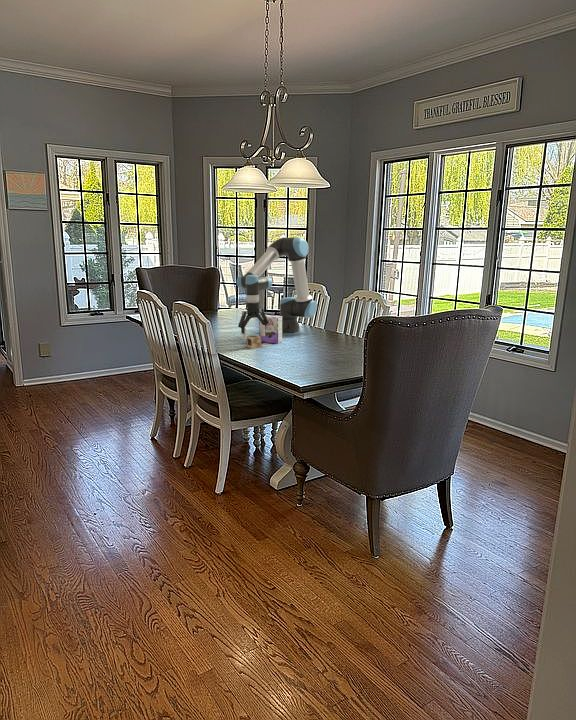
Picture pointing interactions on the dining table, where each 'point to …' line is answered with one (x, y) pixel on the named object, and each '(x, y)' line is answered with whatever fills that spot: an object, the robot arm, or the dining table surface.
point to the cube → (253, 341)
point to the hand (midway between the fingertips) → (254, 337)
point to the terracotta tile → (253, 348)
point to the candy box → (272, 330)
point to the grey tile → (266, 344)
